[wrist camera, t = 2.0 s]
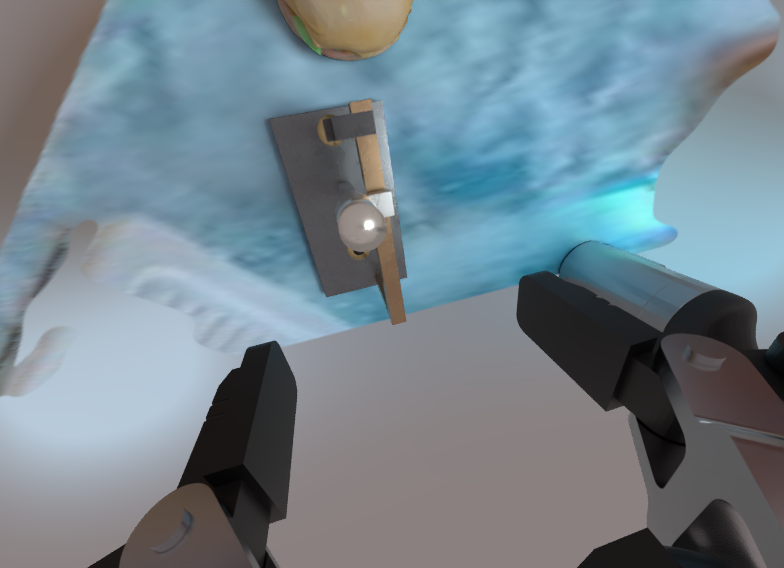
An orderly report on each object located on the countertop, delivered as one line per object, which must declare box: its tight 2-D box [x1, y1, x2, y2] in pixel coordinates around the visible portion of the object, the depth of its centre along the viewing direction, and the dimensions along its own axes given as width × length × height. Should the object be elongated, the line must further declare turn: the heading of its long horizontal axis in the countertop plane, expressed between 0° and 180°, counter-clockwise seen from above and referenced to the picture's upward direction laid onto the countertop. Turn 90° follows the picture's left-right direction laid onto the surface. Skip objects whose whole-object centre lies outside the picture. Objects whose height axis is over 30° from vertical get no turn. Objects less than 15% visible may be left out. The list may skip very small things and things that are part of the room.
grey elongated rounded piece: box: [335, 181, 395, 252], centre depth 26 cm, size 5×3×17 cm
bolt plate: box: [269, 99, 407, 325], centre depth 31 cm, size 12×22×12 cm, turn 9°
